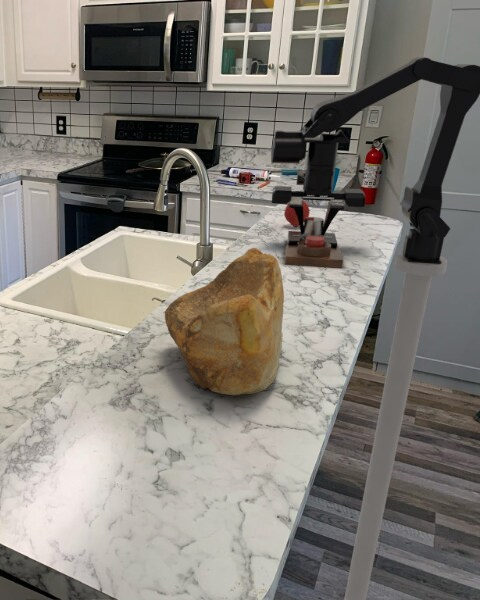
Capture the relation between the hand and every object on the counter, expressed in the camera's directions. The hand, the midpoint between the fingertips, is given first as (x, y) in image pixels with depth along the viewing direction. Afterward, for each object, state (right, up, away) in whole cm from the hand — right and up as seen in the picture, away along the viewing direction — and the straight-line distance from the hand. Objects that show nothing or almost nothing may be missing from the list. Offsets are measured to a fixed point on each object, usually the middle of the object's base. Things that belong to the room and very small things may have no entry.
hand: (312, 234), depth 136 cm
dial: (0, 0, 0) cm, 0 cm away
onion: (+2, +4, +17) cm, 18 cm away
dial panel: (0, -3, +1) cm, 3 cm away
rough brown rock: (-32, -24, -47) cm, 62 cm away
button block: (-3, -6, -7) cm, 9 cm away
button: (-3, -3, -8) cm, 9 cm away
